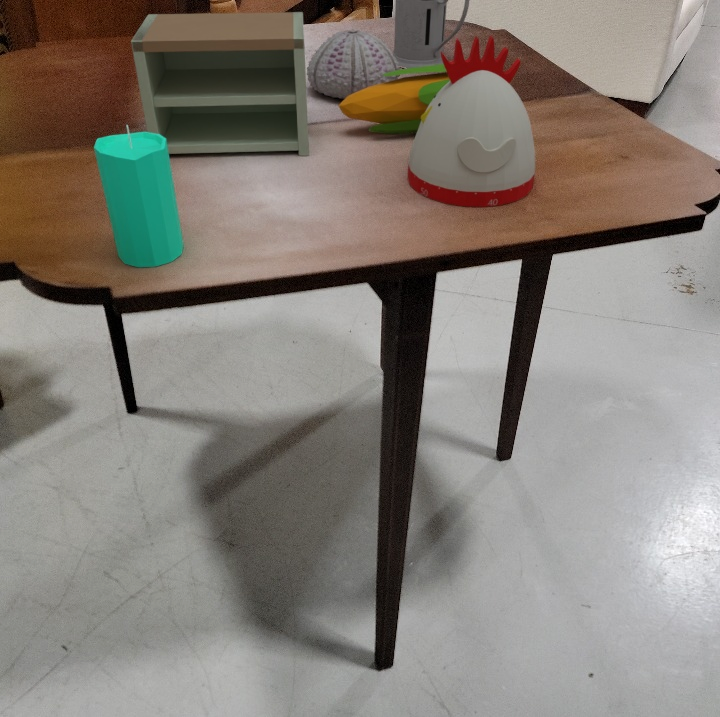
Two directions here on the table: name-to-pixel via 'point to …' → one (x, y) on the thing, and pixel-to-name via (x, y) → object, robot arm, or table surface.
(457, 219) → the table surface
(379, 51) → the sea urchin shell
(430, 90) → the corn
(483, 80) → the kitchen timer
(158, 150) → the candle
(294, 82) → the rack
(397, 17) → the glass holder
